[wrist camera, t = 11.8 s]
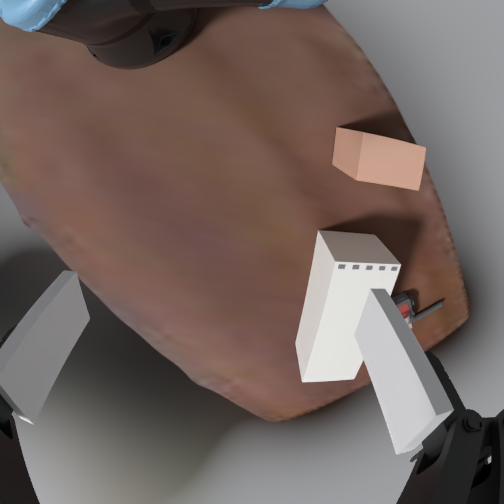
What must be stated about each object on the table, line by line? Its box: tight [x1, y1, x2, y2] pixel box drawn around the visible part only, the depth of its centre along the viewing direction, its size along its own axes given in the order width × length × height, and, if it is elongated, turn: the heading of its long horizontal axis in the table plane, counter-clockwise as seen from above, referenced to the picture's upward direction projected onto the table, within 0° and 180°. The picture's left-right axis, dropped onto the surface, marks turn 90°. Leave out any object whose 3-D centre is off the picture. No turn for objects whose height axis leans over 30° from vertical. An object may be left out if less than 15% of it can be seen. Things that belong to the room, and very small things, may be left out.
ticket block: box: [295, 230, 401, 382], centre depth 40 cm, size 22×9×9 cm, turn 176°
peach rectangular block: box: [332, 127, 426, 191], centre depth 30 cm, size 5×8×9 cm, turn 86°
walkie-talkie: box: [391, 292, 443, 329], centre depth 45 cm, size 9×4×20 cm
